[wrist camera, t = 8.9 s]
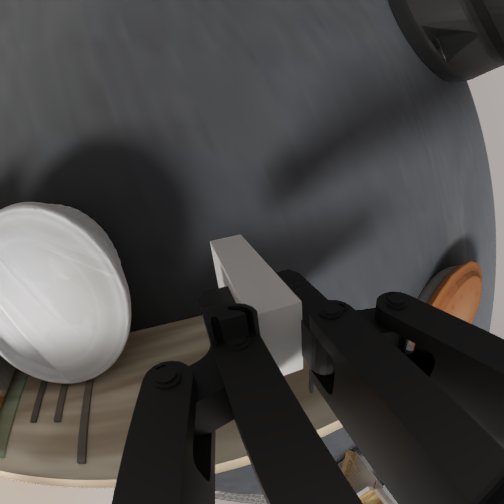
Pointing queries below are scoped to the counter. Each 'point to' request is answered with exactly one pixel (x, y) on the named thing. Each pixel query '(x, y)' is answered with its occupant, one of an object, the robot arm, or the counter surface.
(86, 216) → the ramekin
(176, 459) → the robot arm
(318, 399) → the scale board
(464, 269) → the pie
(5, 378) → the gauge sled
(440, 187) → the counter surface
